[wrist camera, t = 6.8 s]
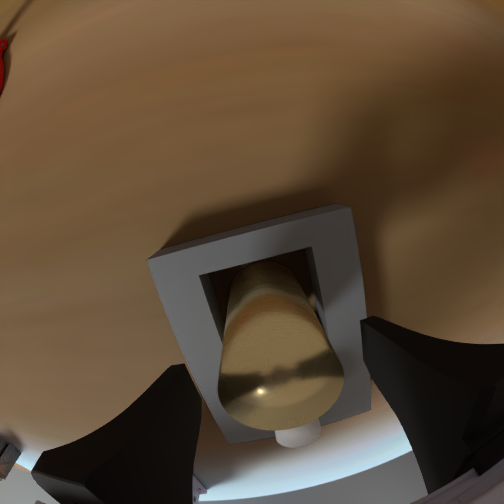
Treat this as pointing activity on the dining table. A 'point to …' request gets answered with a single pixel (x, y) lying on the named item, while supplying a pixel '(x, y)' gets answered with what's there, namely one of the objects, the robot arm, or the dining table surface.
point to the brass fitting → (275, 353)
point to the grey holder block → (325, 291)
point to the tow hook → (0, 47)
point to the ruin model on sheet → (9, 459)
